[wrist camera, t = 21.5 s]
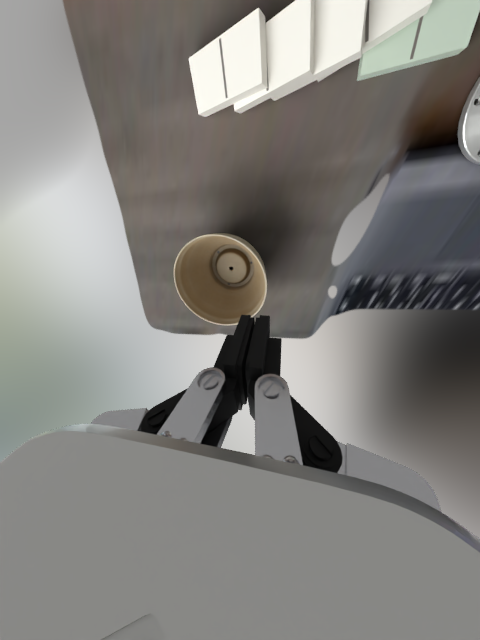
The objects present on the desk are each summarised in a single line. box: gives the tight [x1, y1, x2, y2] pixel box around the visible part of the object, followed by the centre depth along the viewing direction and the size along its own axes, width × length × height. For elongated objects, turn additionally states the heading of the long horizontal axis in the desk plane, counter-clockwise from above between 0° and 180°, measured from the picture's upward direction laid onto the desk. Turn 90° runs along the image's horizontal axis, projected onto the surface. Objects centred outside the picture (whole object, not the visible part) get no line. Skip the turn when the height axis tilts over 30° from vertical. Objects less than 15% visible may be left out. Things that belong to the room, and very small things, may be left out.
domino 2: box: [234, 0, 315, 114], centre depth 22 cm, size 2×5×10 cm
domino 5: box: [357, 0, 480, 81], centre depth 20 cm, size 2×5×10 cm
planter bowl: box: [174, 233, 267, 325], centre depth 35 cm, size 16×16×11 cm
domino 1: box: [189, 8, 268, 117], centre depth 23 cm, size 2×5×10 cm
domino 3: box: [271, 0, 368, 101], centre depth 20 cm, size 2×5×10 cm
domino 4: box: [317, 0, 432, 82], centre depth 19 cm, size 2×5×10 cm
